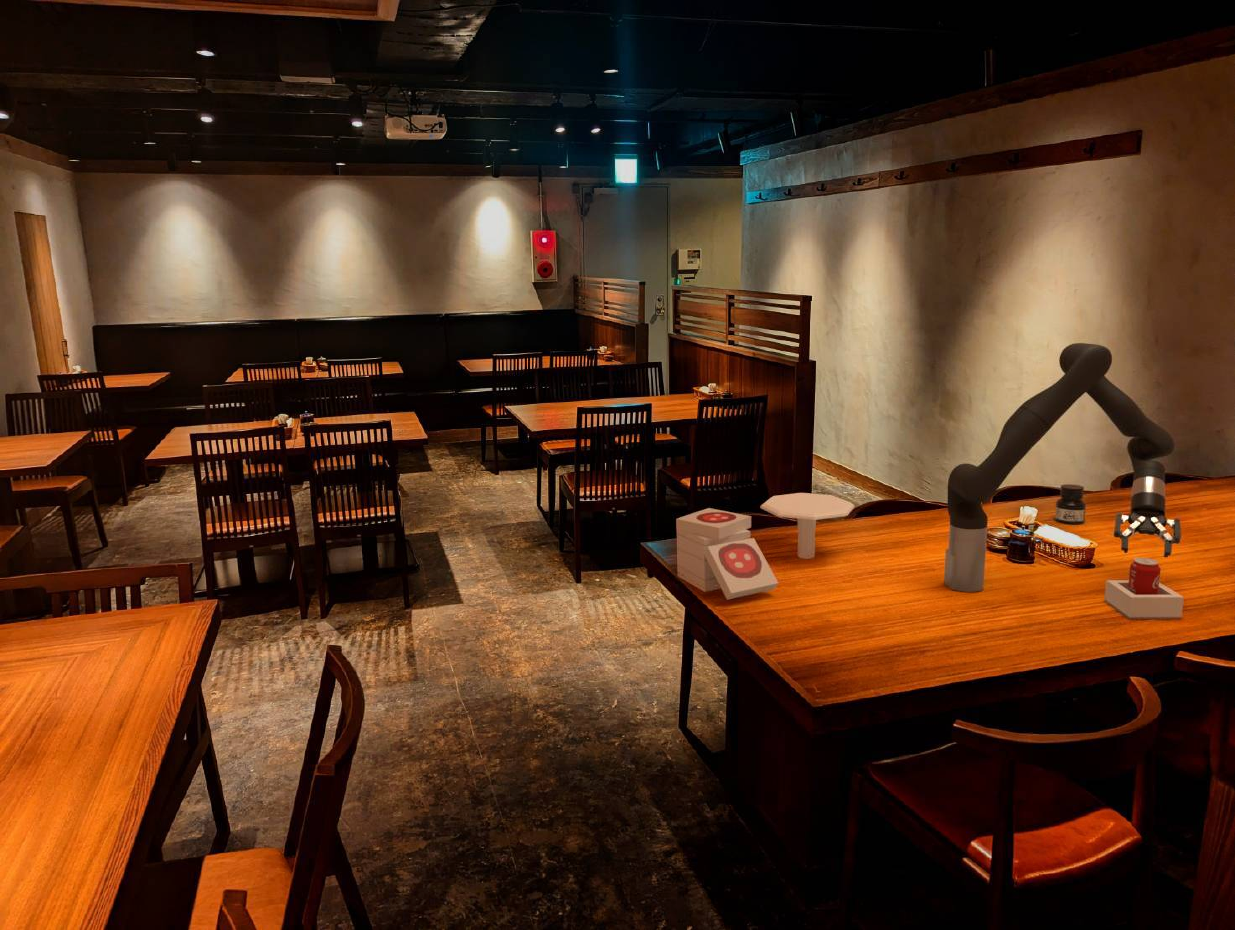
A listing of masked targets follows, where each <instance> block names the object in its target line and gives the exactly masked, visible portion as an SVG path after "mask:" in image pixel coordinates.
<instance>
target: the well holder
mask: <svg viewBox="0 0 1235 930" xmlns="http://www.w3.org/2000/svg"><path fill="white" fill-rule="evenodd" d="M1128 582H1129V579H1122V580H1121V579H1118V580H1117V579H1111V580H1109V579H1108V580H1107V579H1106V581H1105V589H1104V602H1105V603H1106V604H1107V605H1109V606H1111V607H1112V608H1113V609H1115V610H1116V611H1117V612H1119V613H1120V614H1122V615H1123V616H1125V618H1127V619H1129V620H1181V619H1182V616H1183V608H1184V607H1183V606H1184V599H1185V597H1184V595H1183V596H1182V595H1181V594H1179V593H1178V592H1177V591H1174V590H1172V589H1171V588H1169V586H1166V585H1164V584H1163V583H1161V582H1160V581H1159V587H1158V595H1135V594H1133V593H1132V592H1130V591H1129V590H1128Z"/></svg>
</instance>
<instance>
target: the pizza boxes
mask: <svg viewBox="0 0 1235 930" xmlns="http://www.w3.org/2000/svg"><path fill="white" fill-rule="evenodd" d="M675 521H676V522H675V523H676V525H675V526H676V529H675V530H676V558H677V559H676V562H677V566H676V567H677V569H676V570H677V572H678V573H677V572H676V573H677V575H676V576H677V577H678V578H680V579H682V580H684V581H685V582H687V583H688V584H690V585H692V586H694V587H696V588H698V589H699V590H701V591H703V592H705V593H706V592H711V591H716V590H720V589H721V590H722V593H723V595H724V596H725V598H726V600H727V601H728V600H732V599H736V598H742V597H746V596H751V595H755V594H759V593H764V592H769V591H773V590H775V589H776V587H777V586H778V585H779V582H778V579H777V578H776V576H775V574H774V573H773V570H772V569H771V566H770V565H769V563H768V561H767V560H766V558H765V556H764V554H763V552H762V551H761V548H760V547H759V544H757V541H756V540H755V538H754V537H752V538H751V530H748V529H751V528H752V516H751V515H745V514H741V513H736V512H730V511H726V510H720V509H715V508H711V507H708V508H705V509H702V510H699V511H695V512H692V513H690V514H686V515H684V516H680V517H678V518H676V520H675ZM679 573H680V574H679ZM681 574H682V575H684V576H685V577H684V576H682V575H681ZM686 577H687V578H686ZM689 579H690V580H689ZM691 580H692V581H691ZM693 581H694V582H693ZM696 583H697V584H696ZM698 584H699V585H698ZM700 585H701V586H700ZM715 585H718V586H715ZM711 586H713V587H711ZM703 587H704V588H703ZM706 587H708V588H706Z"/></svg>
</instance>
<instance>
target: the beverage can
mask: <svg viewBox="0 0 1235 930" xmlns="http://www.w3.org/2000/svg"><path fill="white" fill-rule="evenodd" d="M1128 573H1129V574H1128V575H1129V576H1128V580H1129V582H1128V590H1129V591H1130V592H1132V593H1133V594H1135V595H1158V587H1159V582H1160V578H1161V577H1160V576H1161V567H1160V565H1159V562H1158V561H1157V560H1155V559H1153V558H1147V557H1135V558H1134V559H1133V561H1132V562H1131V563H1130V566H1129V572H1128Z"/></svg>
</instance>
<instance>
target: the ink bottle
mask: <svg viewBox="0 0 1235 930" xmlns="http://www.w3.org/2000/svg"><path fill="white" fill-rule="evenodd" d="M1084 490H1085V487H1084V486H1082V485H1080V484H1069V483H1068V484H1066V483H1065V484H1062V485H1060V495H1059V496H1060V498H1059V499H1057V500H1056V502H1055V512H1054V513H1055V514H1054V520H1055V521H1056V522H1059V523H1062V524H1067V525H1081V524H1084V522H1085V519H1086V509H1087V503H1086V502H1085V501H1084V500H1083V498H1084Z"/></svg>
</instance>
